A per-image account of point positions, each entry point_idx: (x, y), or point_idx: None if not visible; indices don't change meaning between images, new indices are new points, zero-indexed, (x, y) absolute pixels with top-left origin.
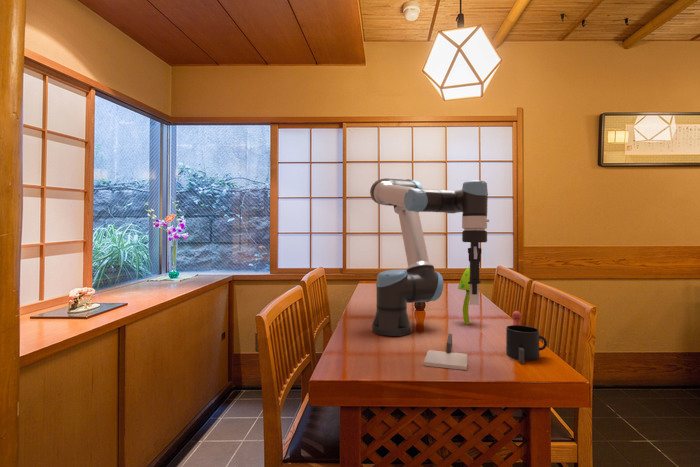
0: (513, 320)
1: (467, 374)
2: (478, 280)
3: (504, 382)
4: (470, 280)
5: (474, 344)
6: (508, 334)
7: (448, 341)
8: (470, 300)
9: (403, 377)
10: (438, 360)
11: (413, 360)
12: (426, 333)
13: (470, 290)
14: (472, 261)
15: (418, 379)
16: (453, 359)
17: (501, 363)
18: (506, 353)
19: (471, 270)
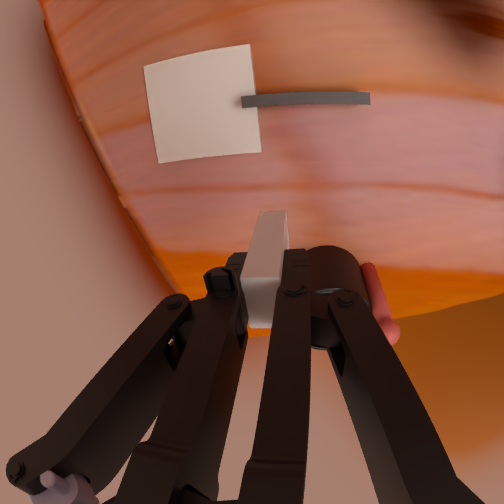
0: (384, 314)
1: (139, 166)
2: (175, 346)
3: (138, 233)
4: (167, 302)
5: (397, 169)
6: (313, 281)
7: (266, 98)
8: (257, 224)
9: (75, 64)
10: (169, 92)
11: (172, 32)
12: (461, 36)
13: (247, 254)
14: (60, 431)
15: (77, 91)
16: (194, 124)
17: (247, 231)
18: (325, 247)
19: (106, 366)
